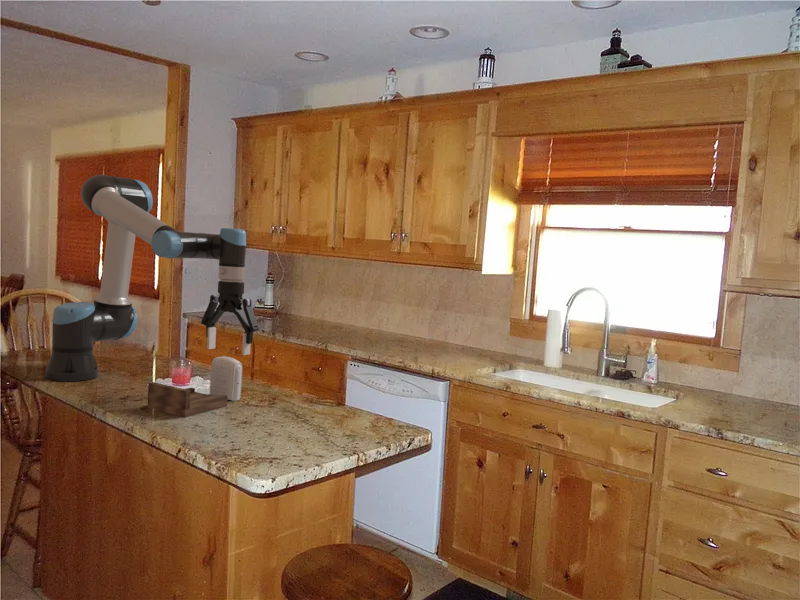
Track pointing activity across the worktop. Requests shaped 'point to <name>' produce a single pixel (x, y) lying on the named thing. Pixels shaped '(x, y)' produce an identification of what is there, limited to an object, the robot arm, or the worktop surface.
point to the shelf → (181, 400)
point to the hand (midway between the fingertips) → (228, 351)
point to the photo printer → (226, 378)
